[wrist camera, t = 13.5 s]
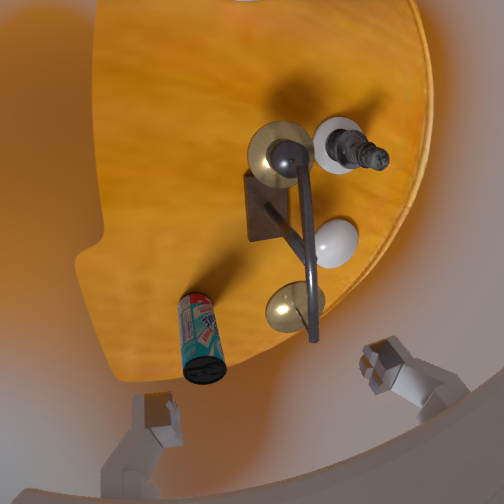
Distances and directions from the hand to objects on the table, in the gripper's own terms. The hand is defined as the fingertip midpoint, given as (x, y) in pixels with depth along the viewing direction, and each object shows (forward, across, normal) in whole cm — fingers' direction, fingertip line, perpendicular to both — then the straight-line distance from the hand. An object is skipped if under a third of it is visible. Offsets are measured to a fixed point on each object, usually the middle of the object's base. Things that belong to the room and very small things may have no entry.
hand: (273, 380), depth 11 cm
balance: (+34, -9, +6) cm, 36 cm away
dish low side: (+34, -21, -3) cm, 40 cm away
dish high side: (+34, -21, +14) cm, 43 cm away
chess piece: (+33, -21, -3) cm, 39 cm away
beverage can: (+34, +4, +22) cm, 41 cm away
